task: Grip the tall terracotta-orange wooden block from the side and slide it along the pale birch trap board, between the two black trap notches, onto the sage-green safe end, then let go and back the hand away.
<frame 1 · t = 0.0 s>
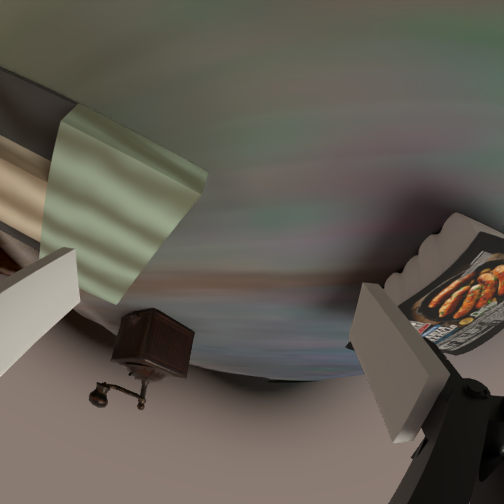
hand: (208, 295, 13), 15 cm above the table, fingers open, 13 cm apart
brown manual coffee grinder: (148, 324, 57), on the table
food packaging: (453, 269, 36), on the table
trap board: (13, 175, 28), on the table
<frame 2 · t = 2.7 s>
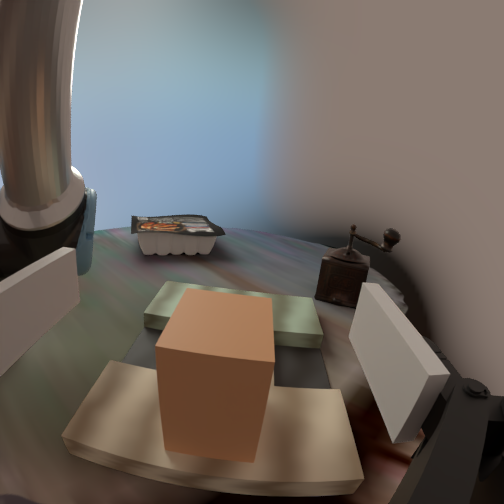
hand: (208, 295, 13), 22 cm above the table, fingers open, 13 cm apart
terracotta block: (215, 420, 28), point 3 cm above the table, touching trap board
brown manual coffee grinder: (349, 299, 69), on the table
food packaging: (172, 247, 92), on the table
trap board: (226, 367, 41), on the table
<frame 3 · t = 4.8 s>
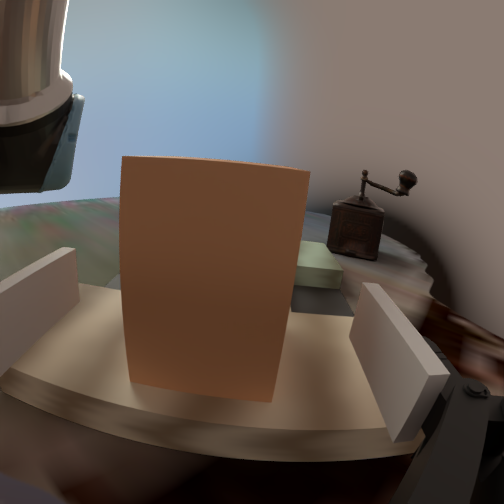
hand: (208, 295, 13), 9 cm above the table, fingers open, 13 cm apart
terracotta block: (210, 346, 21), point 3 cm above the table, touching trap board
brown manual coffee grinder: (363, 254, 61), on the table
trap board: (226, 303, 34), on the table
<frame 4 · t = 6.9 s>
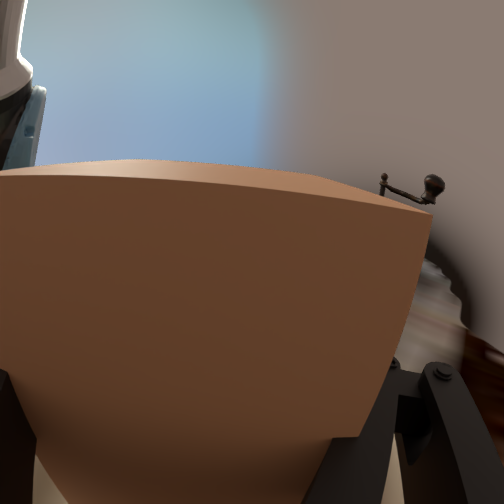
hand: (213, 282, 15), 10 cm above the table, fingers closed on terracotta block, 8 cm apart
terracotta block: (193, 452, 12), point 3 cm above the table, touching gripper, trap board
brown manual coffee grinder: (381, 270, 53), on the table
trap board: (221, 351, 25), on the table
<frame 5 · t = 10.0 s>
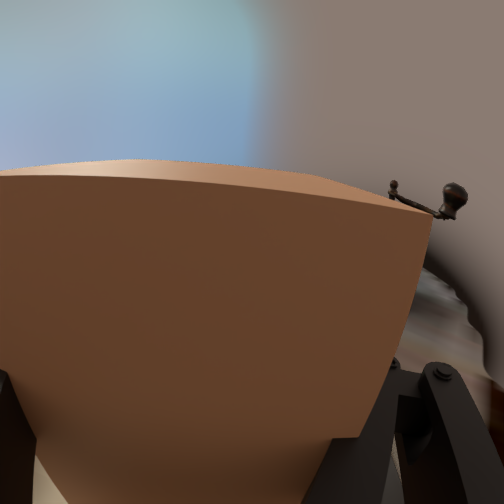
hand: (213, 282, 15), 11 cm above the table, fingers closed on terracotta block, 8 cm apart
terracotta block: (193, 452, 12), point 4 cm above the table, touching gripper
brown manual coffee grinder: (387, 296, 44), on the table
trap board: (168, 444, 16), on the table
when the fingers open (11 cm above the table, at t = 13.3 s): terracotta block stays where it is, resting on trap board.
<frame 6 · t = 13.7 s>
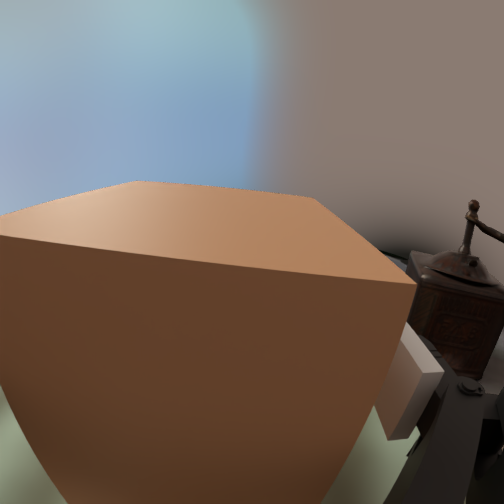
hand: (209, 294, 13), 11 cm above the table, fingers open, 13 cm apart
terracotta block: (193, 463, 12), point 3 cm above the table, touching trap board
brown manual coffee grinder: (451, 356, 28), on the table
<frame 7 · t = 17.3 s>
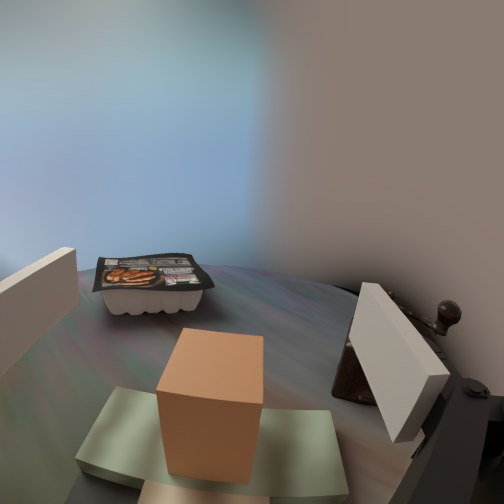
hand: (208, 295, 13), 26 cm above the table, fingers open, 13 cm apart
terracotta block: (213, 445, 29), point 3 cm above the table, touching trap board
brown manual coffee grinder: (378, 388, 45), on the table
food packaging: (149, 298, 71), on the table
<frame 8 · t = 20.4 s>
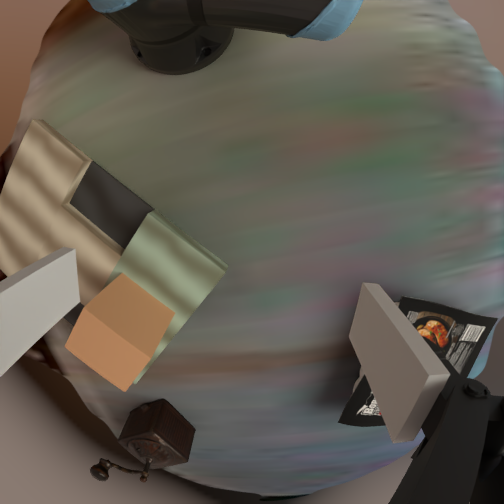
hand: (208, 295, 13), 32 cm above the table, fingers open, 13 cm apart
terracotta block: (136, 310, 46), point 3 cm above the table, touching trap board
brown manual coffee grinder: (153, 421, 57), on the table
food packaging: (409, 352, 51), on the table
trap board: (83, 254, 47), on the table
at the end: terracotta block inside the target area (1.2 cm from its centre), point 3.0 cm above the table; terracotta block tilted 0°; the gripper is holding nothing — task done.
